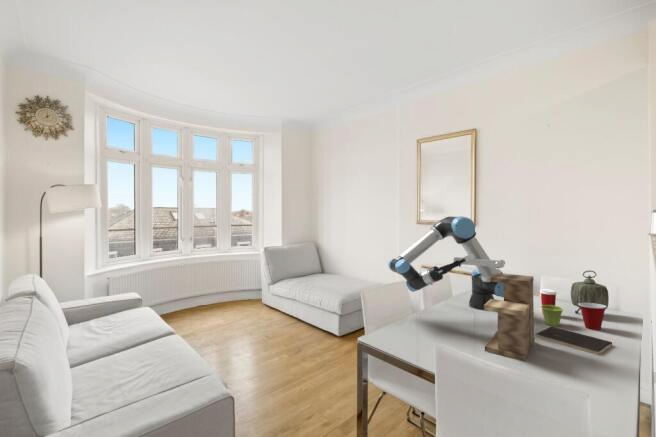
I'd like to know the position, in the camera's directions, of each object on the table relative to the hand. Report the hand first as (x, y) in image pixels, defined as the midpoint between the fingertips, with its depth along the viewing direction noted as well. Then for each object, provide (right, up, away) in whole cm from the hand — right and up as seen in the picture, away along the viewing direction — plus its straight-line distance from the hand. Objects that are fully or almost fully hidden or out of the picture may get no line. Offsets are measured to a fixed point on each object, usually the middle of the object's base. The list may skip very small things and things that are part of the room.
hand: (472, 256), depth 151 cm
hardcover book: (+40, -38, -11) cm, 57 cm away
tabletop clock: (+76, -36, +21) cm, 86 cm away
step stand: (+10, -38, -15) cm, 42 cm away
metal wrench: (+2, -4, -1) cm, 5 cm away
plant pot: (+46, -37, +10) cm, 60 cm away
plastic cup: (+61, -37, +3) cm, 72 cm away
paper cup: (+54, -36, +23) cm, 69 cm away
